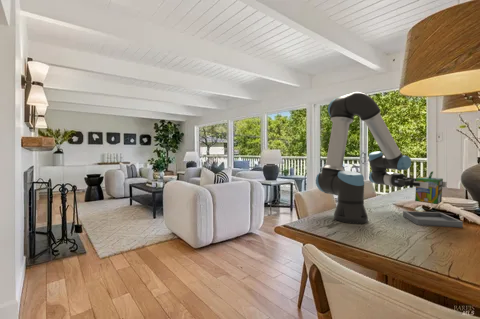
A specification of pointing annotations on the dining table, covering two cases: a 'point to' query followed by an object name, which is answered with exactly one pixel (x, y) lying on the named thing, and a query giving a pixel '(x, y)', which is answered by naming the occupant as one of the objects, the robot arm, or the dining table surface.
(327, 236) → the dining table surface
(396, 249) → the dining table surface
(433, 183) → the chalk box
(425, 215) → the tray
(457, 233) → the dining table surface
